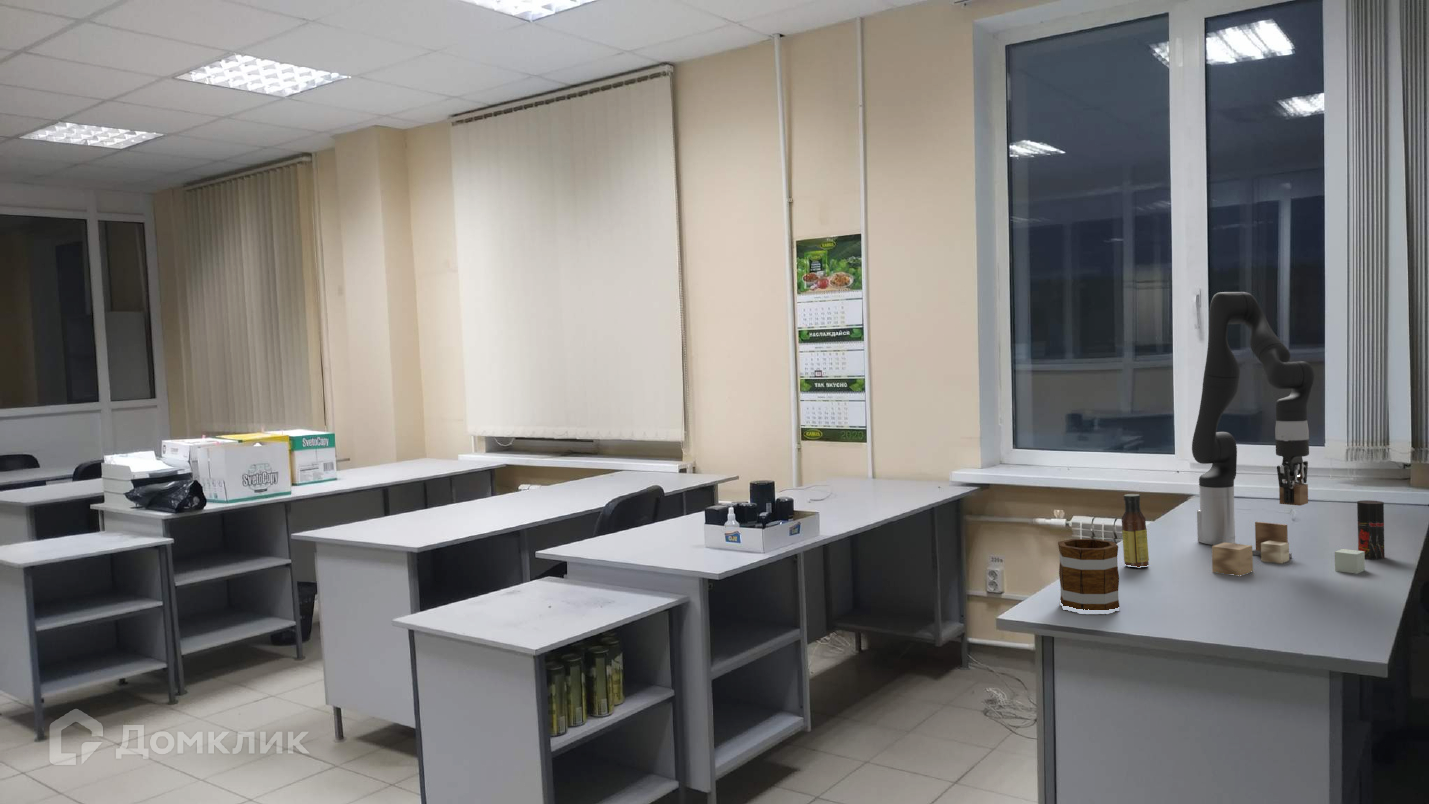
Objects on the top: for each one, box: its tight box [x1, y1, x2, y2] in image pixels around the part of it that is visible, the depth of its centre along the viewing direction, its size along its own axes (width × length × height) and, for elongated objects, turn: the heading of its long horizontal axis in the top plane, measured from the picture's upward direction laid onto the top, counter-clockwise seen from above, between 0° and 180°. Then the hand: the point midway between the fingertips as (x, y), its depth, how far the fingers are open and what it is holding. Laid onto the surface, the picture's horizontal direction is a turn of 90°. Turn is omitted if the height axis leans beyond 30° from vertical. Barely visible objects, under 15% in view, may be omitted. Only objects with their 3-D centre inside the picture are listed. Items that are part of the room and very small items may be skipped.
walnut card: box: [1252, 521, 1292, 559], centre depth 265 cm, size 9×3×9 cm, turn 37°
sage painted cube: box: [1334, 548, 1366, 574], centre depth 245 cm, size 5×5×5 cm
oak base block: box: [1211, 542, 1254, 577], centre depth 249 cm, size 7×7×7 cm
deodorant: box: [1356, 499, 1386, 560], centre depth 258 cm, size 6×6×15 cm
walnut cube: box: [1278, 483, 1309, 506], centre depth 251 cm, size 5×5×5 cm
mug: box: [1057, 538, 1120, 610], centre depth 224 cm, size 20×14×15 cm
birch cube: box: [1260, 540, 1290, 564], centre depth 259 cm, size 5×5×5 cm
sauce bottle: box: [1121, 493, 1150, 567], centre depth 260 cm, size 6×6×20 cm
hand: (1293, 501), depth 251 cm, fingers closed on walnut cube, 5 cm apart
